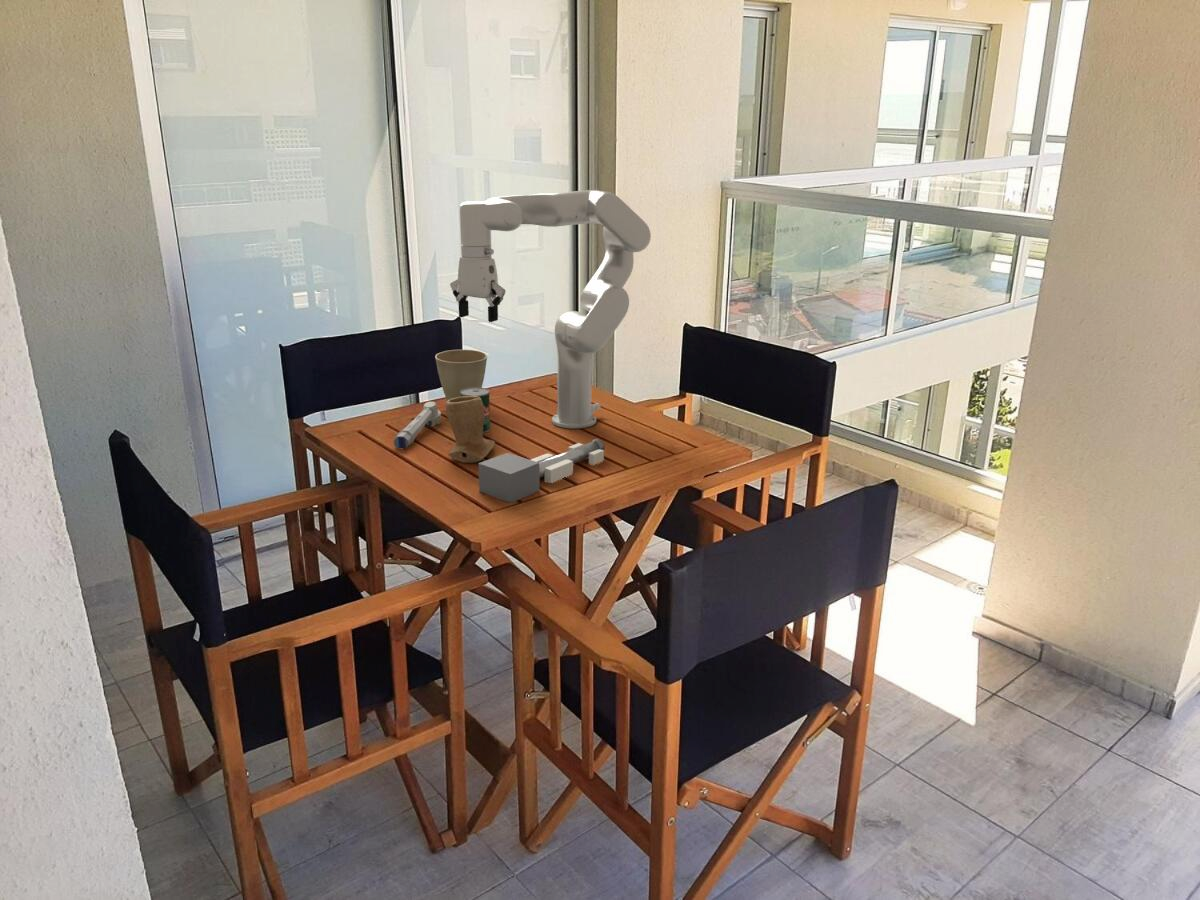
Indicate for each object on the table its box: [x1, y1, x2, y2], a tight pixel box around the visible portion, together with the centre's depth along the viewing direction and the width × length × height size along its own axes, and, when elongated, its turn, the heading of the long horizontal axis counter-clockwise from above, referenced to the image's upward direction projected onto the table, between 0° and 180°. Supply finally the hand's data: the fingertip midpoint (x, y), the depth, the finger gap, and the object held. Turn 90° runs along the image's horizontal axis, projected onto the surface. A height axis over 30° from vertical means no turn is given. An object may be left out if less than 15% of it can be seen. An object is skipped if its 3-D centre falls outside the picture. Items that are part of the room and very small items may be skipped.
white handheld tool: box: [393, 401, 442, 450], centre depth 254 cm, size 5×7×25 cm
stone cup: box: [445, 396, 496, 464], centre depth 238 cm, size 15×12×15 cm
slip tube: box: [539, 438, 605, 479], centre depth 233 cm, size 24×4×4 cm, turn 141°
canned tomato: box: [460, 387, 491, 434], centre depth 257 cm, size 8×8×11 cm
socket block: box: [478, 452, 540, 504], centre depth 217 cm, size 10×10×7 cm
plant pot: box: [434, 349, 488, 402], centre depth 275 cm, size 15×15×16 cm
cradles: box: [530, 442, 605, 484], centre depth 232 cm, size 20×8×4 cm, turn 141°
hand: (478, 318), depth 243 cm, fingers open, 9 cm apart
